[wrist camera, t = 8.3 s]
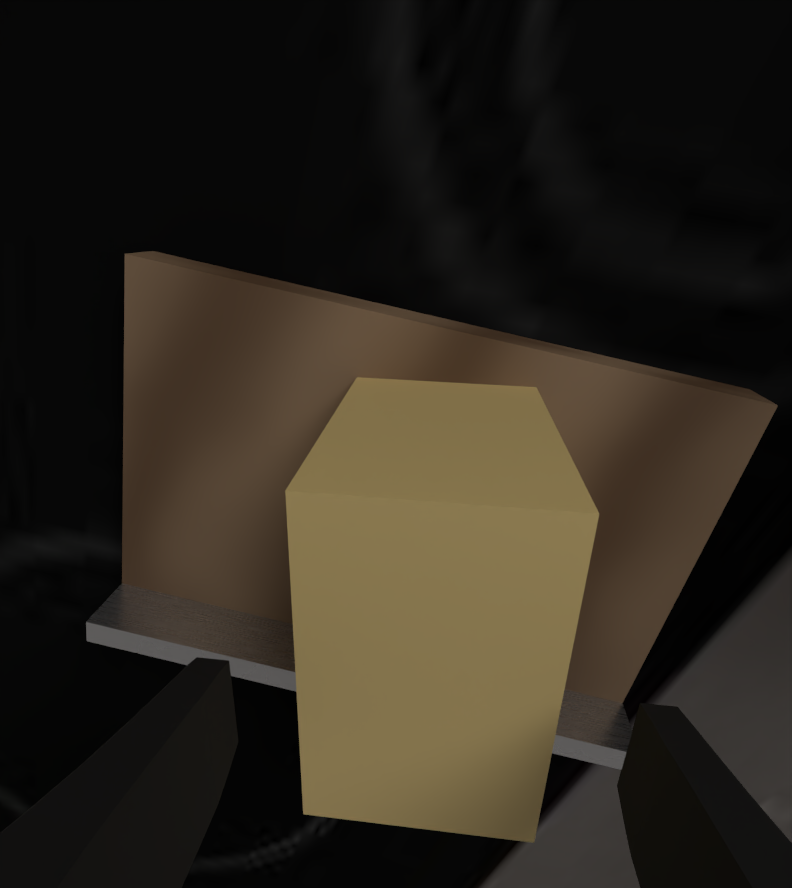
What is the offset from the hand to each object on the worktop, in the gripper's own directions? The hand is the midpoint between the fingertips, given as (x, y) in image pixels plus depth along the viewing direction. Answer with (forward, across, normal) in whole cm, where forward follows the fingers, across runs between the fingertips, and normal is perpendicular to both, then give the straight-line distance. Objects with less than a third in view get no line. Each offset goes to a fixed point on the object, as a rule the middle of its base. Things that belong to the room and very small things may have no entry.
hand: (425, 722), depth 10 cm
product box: (+8, 0, 0) cm, 8 cm away
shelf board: (+9, +1, 0) cm, 9 cm away
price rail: (+8, +2, +6) cm, 10 cm away
